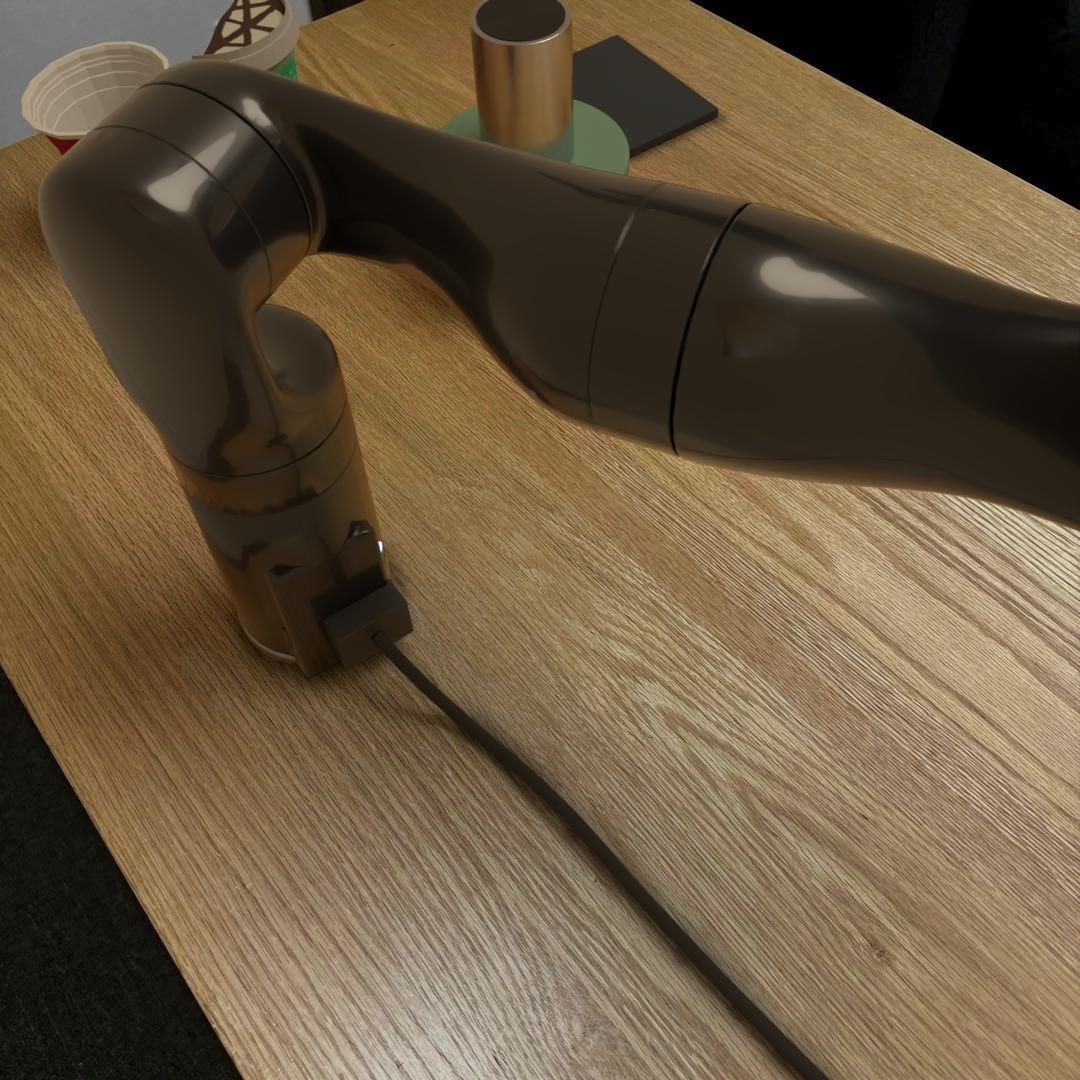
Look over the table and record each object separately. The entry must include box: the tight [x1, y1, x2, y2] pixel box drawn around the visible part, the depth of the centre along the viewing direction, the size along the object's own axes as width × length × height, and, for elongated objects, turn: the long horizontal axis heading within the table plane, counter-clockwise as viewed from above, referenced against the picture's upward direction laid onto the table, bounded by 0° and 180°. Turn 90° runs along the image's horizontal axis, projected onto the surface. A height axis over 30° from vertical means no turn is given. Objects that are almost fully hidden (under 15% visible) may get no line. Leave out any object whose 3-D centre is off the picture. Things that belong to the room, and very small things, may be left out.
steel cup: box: [469, 0, 574, 163], centre depth 78 cm, size 6×6×10 cm
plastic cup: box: [20, 40, 170, 157], centre depth 89 cm, size 11×11×12 cm
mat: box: [573, 34, 719, 159], centre depth 100 cm, size 14×12×1 cm
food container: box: [191, 0, 300, 82], centre depth 96 cm, size 12×6×10 cm, turn 171°
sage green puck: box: [439, 100, 630, 176], centre depth 86 cm, size 15×15×9 cm
